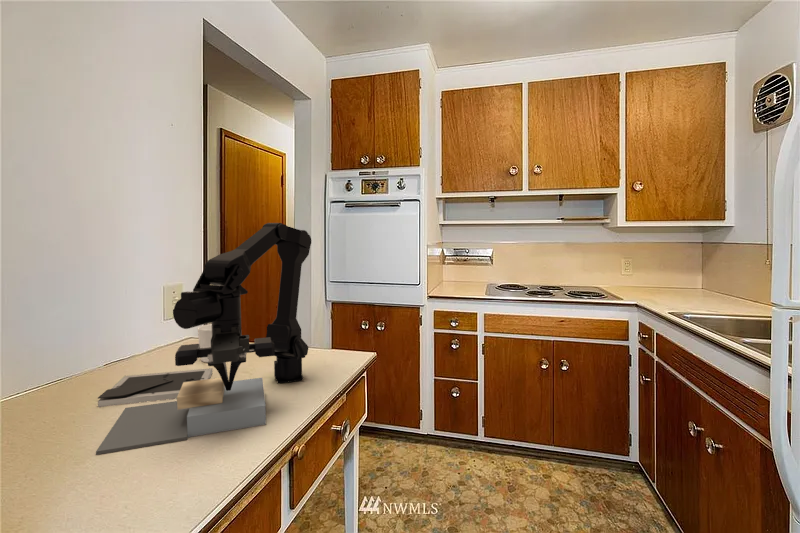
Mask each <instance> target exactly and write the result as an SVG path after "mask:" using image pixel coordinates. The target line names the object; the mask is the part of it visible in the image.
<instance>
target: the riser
mask: <svg viewBox="0 0 800 533" xmlns="http://www.w3.org/2000/svg"><path fill="white" fill-rule="evenodd" d="M266 414H267V412H266V399H265V389H264V380H263V377H257V378H248V379H247V378H246V379H240V380H234V381H233V384H232V388H231V390H229V391H227V390H226V388H225V389H224V396H223V403H219V404H212V405H205V406H199V407H192V408H190V409H189V412H188V415H187V431H188V438H191V437H196V436H197V437H199V436H203V435H209V434H217V433H220V432H222V433H223V432H228V431H233V430H240V429H246V428H252V427H259V426H263V425H264V426H265V425H267V422H266V420H267V419H266V418H267V417H266Z"/></svg>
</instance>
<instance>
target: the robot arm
mask: <svg viewBox="0 0 800 533" xmlns="http://www.w3.org/2000/svg"><path fill="white" fill-rule="evenodd" d="M311 244H312V238H311V235H310V234H309V233H308V231H307V230H305V229H298V228H294V227H291V226H288V225H287V224H284V223H281V222H267V223H265V224H263V225H262V226H261V229H260V228H259V230H257V231H256V232H255V233H254V234H253V235H252V236H250V237H248V239H246V240H245V241H243V242H242V243H241V244H240V245H238V246H237V247H236V248H235V249H232V250H230V251H227V252H226V251H225V252H223V253H220V254H218V255H215V256H213V257H211V258H210V259H208V260H207V261H206V262H205V264H204V269H203V271H202V272H201V275H199V278H198V279H197V281H196V283H195V285H194V287H193V289H192V291H182V292H181V293H180V298H179V299H178V300H177V301H176V303H175V304H174V308H173V309H172V315H173V316H172V317H173V319H174V321H175V323H176V325H178V327H180V328H182V329H184V330H188V329H192V328H195V327H200V326H203V325H208V324H212V338H211V347H209V348H200V344H199V343H193V344H192V343H191V344H182V345H180V346H179V348H178V349H177V350H176V352H175V356H174V360H175V361H174V362H175V366H177V367H181V366H182V367H183V366H191V365H194V364H195V363H197V361H198V359H201V358H202V357H208V359H209V361H208V362H207V366H208V367H214V368H215V369H216V371H217V372H218V374H219V376H220V378H221V379H222V381H223V383H224V386H225V388H226V390H227V391H229V390H231V388H232V384H233V381H235V378H236V374H237V371H238V369H239V368H240V366H241V364H243V363H246V362H247V355H248V354H250V353H255V354H254V355H255V356H257V357H258V358H267V357H275V358H276V360H274V361H273V363H274V364H273V370H274V371H273V374H274V380H276V383H277V384H285V383H286V384H287V383H293V382H300V381H303V380H304V377H303V359H305V358H306V356H308V351H309V345H308V344H307V343H306V342H305V341H304V340H303V338H302V327H301V326H300V324H299V321H298V320H297V317H298V316H297V313H298V304H299V294H300V284H301V275H302V265H303V263H304V262H305V261H306V259H307V258H308V256H309V254H310V248H311V246H312V245H311ZM274 246H276V248H277V250H276V251H277V255H278V256H279V258H280V260H281V272H280V278H279V280H280V281H279V282H280V283H279V290H278V291H279V292H278V299H277V300H278V301H277V310H276V316H275V319H274V320H273V321H272V323H267V326H266V335H265V337H258V338H254V340H253V341H254V343H250V335H249V334H242V308H241V307H242V306H241V305H242V304H241V300H242V299H241V296H242V295H247V294H248V293H249V292H248V290H247V289H246V288H245V287H244V286H243V285H242V284H243V283H244V282H245V280H246V279H247V278H248V276H249V275H250V274H251V269H252V265H253V264H254V263H256V261H258V260H259V259H260V258H262V257H263V255H265V254H266V253H267V252H269V250H271V248H272V247H274ZM227 363H230V367H229V374H228V368H227Z"/></svg>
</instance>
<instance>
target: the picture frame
mask: <svg viewBox="0 0 800 533" xmlns="http://www.w3.org/2000/svg"><path fill="white" fill-rule="evenodd" d="M212 372H213V368H211V367H209V368H200V369H187V370H179V371H178V370H177V371H165V372H164V371H163V372H154V373H141V374H132V375H130V374H129V375H124V376H123V377H121V379H120V380H119V381H117V382H116V383H115V384H114V385H113V386H112V387H111V388H109V389H107V390H105V391H104V392H102V394H100V395H99V396H98V397H97V399H98V400H97V407H98V408H102V407H103V408H104V407H111V406H113V407H114V406H121V404H122V405H130V403H131V404H138V403H139V402H141V403H148V402H147V401H150V402H157V401H156V400H160V401H166V399H169V400H176V399H175V398H177V396H178V394H179V391H180V389H181V387H182V384H183V382H191V381H199V380H206V379H211V377H212V375H213V373H212ZM139 404H140V403H139Z"/></svg>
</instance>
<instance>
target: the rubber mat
mask: <svg viewBox="0 0 800 533" xmlns="http://www.w3.org/2000/svg"><path fill="white" fill-rule="evenodd" d="M189 409H190V408H186V409H179V410H178V406H177V400H174V401H166V402H160V403H153V404H144V405H136V406H135V405H134V406H129V407H125V408H124V410H122V413H120V415H119V417H118V418H117V419H116V421H115V423H114V424H113V426H112V427H111V429H110V430H109V432H108V433H107V435H106V436H105V437H104V439H103V440H102V441H101V443H100V445H99V446H98V448H97V449H96V450H95V456H98V455H104V454H109V453H110V454H111V453H115V452H116V453H117V452H121V451H123V452H124V451H128V450H134V449H139V448H146V447H152V446H158V444H159V445H164V443H165V444H169V443H170V442H171V443H177V442H181V441H187V440H188V438H189V437H188V431H187V415H188V412H189ZM171 443H170V444H171Z"/></svg>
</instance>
